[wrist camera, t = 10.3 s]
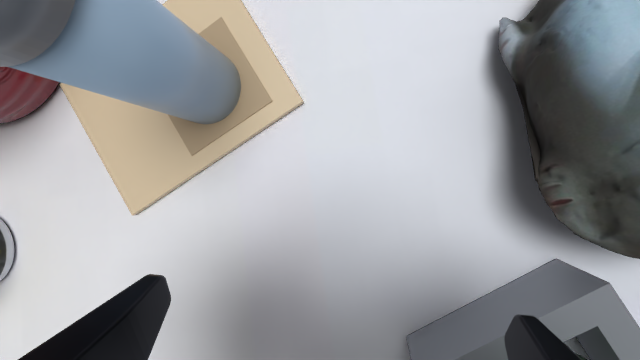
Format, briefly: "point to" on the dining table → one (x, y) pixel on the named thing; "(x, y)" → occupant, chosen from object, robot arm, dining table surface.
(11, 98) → the canister
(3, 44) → the water bottle
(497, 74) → the dining table surface
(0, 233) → the supplement bottle
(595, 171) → the lucky cat figurine
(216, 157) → the kraft sheet
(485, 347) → the button box
